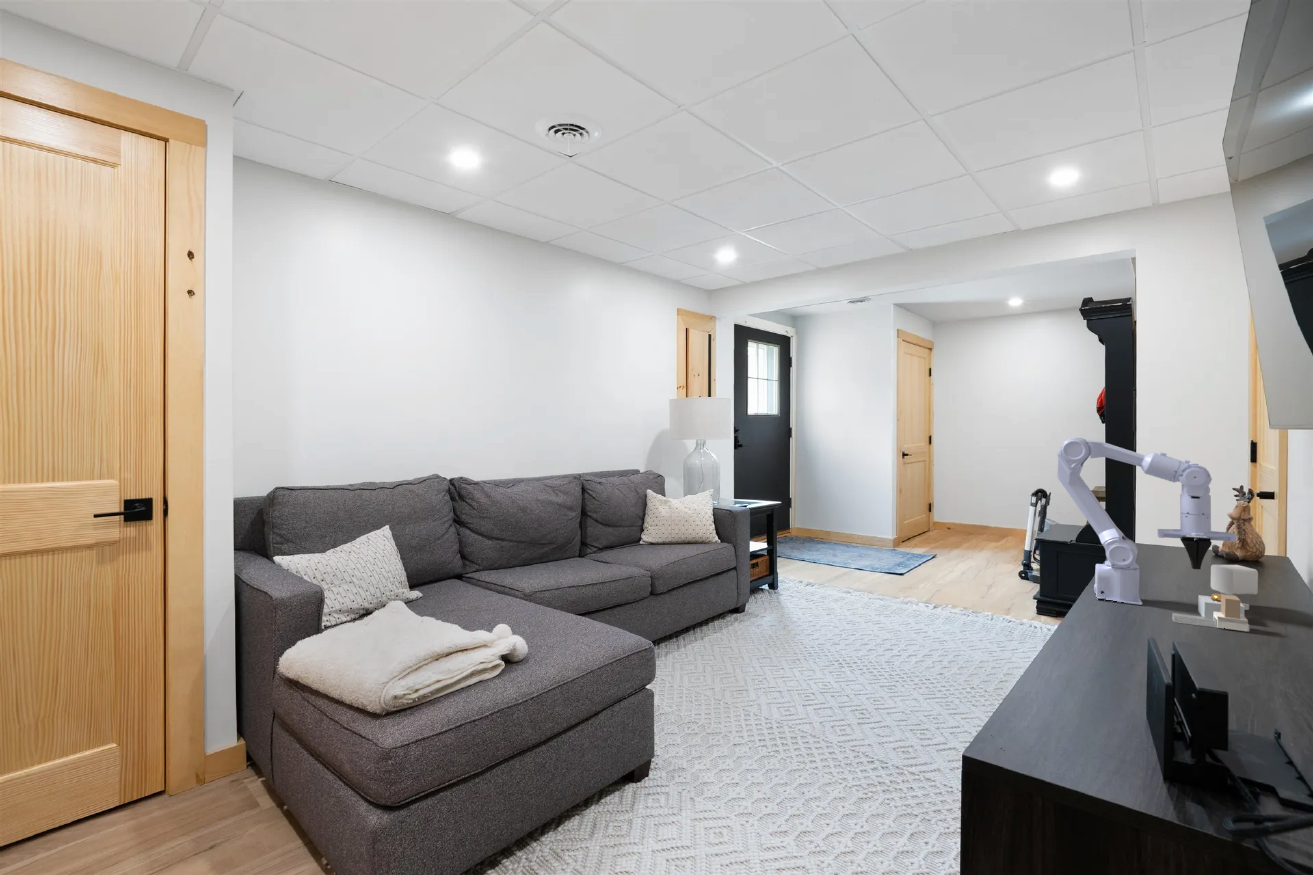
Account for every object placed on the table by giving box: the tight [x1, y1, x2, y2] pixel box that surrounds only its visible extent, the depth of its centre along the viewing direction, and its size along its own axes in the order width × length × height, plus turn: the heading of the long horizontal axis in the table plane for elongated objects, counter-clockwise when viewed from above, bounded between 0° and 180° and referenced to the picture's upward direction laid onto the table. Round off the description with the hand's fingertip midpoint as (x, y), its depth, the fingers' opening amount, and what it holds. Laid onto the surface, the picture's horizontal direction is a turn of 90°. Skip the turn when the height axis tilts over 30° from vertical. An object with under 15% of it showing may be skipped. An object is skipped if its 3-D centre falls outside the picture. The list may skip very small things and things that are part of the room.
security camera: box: [1210, 564, 1259, 611], centre depth 157 cm, size 6×7×10 cm
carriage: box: [1213, 593, 1249, 632], centre depth 141 cm, size 5×4×7 cm
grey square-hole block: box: [1197, 594, 1245, 618], centre depth 149 cm, size 7×7×4 cm
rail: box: [1171, 612, 1250, 633], centre depth 143 cm, size 13×2×2 cm, turn 58°
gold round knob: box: [1211, 593, 1221, 602], centre depth 149 cm, size 3×3×4 cm
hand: (1196, 568), depth 154 cm, fingers closed
